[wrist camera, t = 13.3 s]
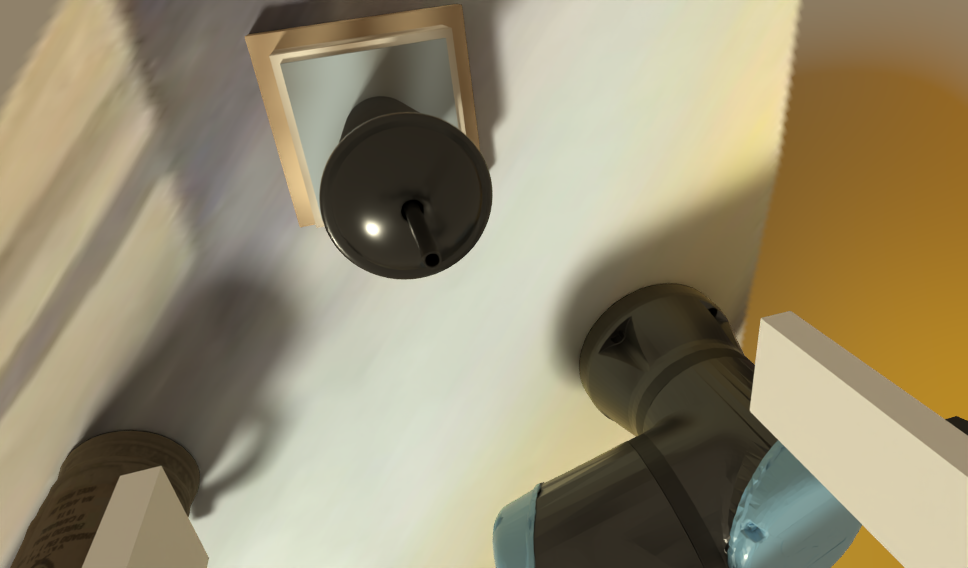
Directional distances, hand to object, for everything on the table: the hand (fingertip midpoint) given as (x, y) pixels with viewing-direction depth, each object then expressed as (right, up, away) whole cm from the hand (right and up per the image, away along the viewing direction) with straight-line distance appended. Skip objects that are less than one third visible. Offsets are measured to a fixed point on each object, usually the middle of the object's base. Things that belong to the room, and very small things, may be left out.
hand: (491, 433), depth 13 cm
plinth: (-8, +15, +30) cm, 35 cm away
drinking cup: (-7, +13, +25) cm, 29 cm away
